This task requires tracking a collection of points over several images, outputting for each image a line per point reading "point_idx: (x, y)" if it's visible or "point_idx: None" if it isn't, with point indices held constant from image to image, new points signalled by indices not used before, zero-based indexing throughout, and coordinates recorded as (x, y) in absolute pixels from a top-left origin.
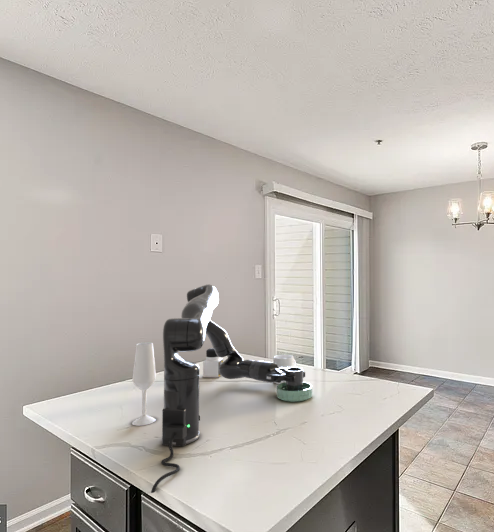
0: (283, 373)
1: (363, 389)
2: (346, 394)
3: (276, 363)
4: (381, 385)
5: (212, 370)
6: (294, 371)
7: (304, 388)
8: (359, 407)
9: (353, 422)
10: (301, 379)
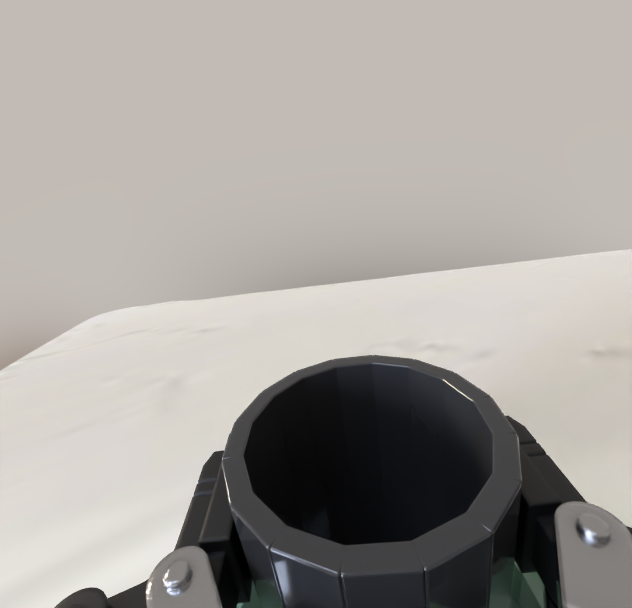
0: (563, 592)
1: (98, 397)
2: (189, 409)
3: None
4: (37, 381)
5: None
6: (449, 371)
7: (252, 586)
8: (324, 332)
9: (443, 301)
10: (362, 438)
